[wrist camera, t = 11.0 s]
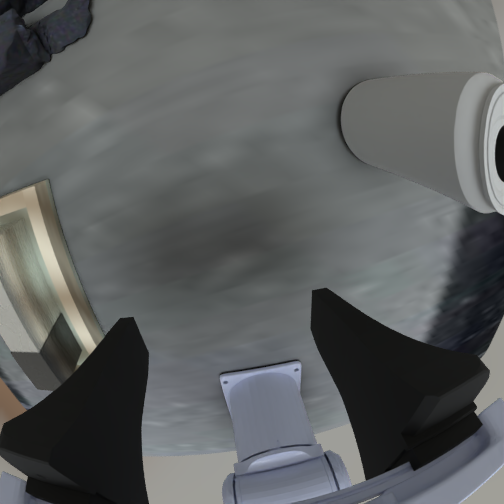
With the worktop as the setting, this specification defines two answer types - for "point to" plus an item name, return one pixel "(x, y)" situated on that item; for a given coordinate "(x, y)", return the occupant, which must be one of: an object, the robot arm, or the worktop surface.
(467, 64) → the worktop surface
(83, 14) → the dark slate chunk
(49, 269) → the beige rectangular tray
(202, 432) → the worktop surface
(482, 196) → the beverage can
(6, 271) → the grey rectangular block
